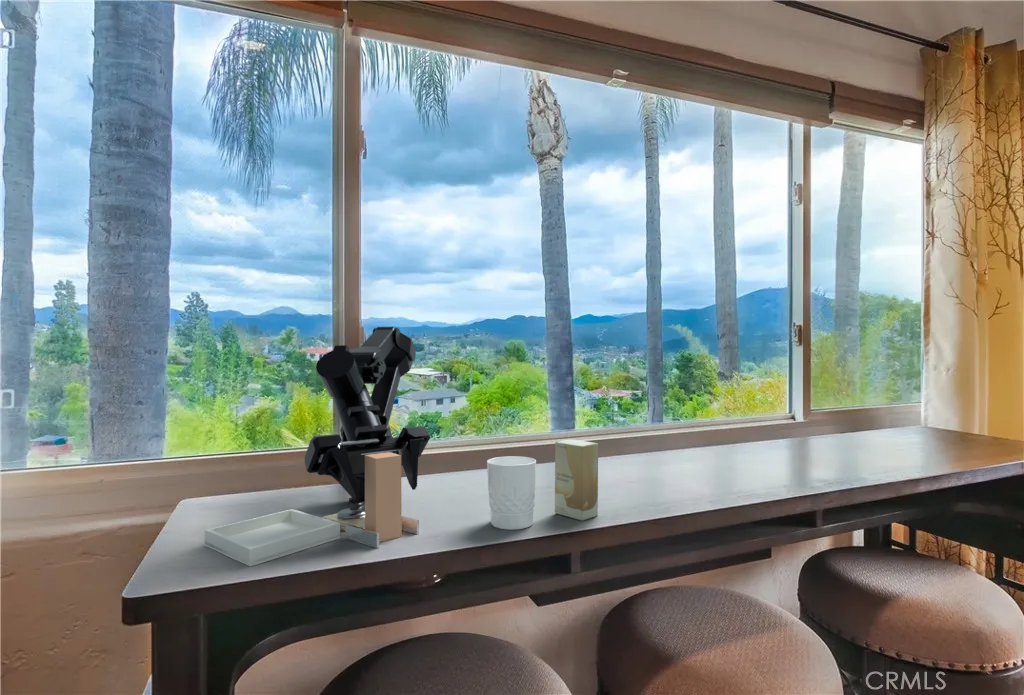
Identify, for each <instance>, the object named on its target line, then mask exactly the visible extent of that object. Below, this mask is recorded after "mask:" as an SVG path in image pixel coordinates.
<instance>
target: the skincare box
mask: <svg viewBox="0 0 1024 695" xmlns="http://www.w3.org/2000/svg"><path fill="white" fill-rule="evenodd" d="M554 444H555V449H554V450H555V451H554V454H555V455H554V456H555V457H554V513H555V514H557V515H562V516H565V517H568V518H571V519H575V520H578V521H582V522H583V521H585V520H586V521H587V520H589V519H592V518H594V517H597V516H598V514H599V511H598V509H599V505H598V504H599V500H598V499H599V498H598V497H599V494H598V493H599V443H598V442H592V441H587V440H579V439H578V440H577V439H571V438H569V439H563V440H559V441H555V442H554Z"/></svg>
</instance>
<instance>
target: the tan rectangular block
mask: <svg viewBox="0 0 1024 695" xmlns="http://www.w3.org/2000/svg"><path fill="white" fill-rule="evenodd" d="M364 508H365V526H364V529H367V530H370V531H374V532H377V533H379V543H381V542H385V541H390V540H392V539H398V538H401V537H402V533H403V532H402V531H403V530H402V516H403V515H402V465H401V455H398V454H395V453H391V452H386V453H378V454H369V455H365V507H364Z"/></svg>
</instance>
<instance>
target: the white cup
mask: <svg viewBox="0 0 1024 695" xmlns="http://www.w3.org/2000/svg"><path fill="white" fill-rule="evenodd" d="M486 469H487V488H488V490H487V491H488V497H489V498H488V500H489V507H490V508H489V510H490V513H489V514H490V525H491V526H493V527H494V528H496V529H500V530H509V531H510V530H512V531H515V530H523V529H526V528H530V527H531V526H533V523H534V515H535V514H534V511H535V510H534V508H535V505H536V504H535V503H536V502H535V500H536V484H537V483H536V479H537V478H536V476H537V475H536V474H537V460H536V459H535V458H533V457H528V456H517V455H516V456H515V455H513V456H511V455H509V456H498V457H493V458H489V459H487V460H486Z"/></svg>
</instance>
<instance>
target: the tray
mask: <svg viewBox="0 0 1024 695" xmlns="http://www.w3.org/2000/svg"><path fill="white" fill-rule="evenodd" d="M339 539H341V530H340V523H338V522H334V521H331V520H327V519H324V518H323V517H320V516H318V515H317V516H316V515H314V514H310V513H307V512H303V511H300V510H297V509H293V508H290V509H286V510H283V511H278V512H274V513H269V514H265V515H261V516H257V517H254V518H253V517H252V518H249V519H245V520H239V521H235V522H233V523H228V524H225V525H220V526H216V527H212V528H211V527H210V528H206V529H205V530H204V547H207V548H209V549H212V550H214V551H216V552H217V553H220V554H221V555H225V556H227V558H228V557H229V558H231V559H233V560H235V561H237V562H240V563H242V564H244V565H246V566H248V567H254V566H256V565H260V564H263V563H265V562H269V561H272V560H275V559H278V558H281V557H285V556H287V555H288V556H289V555H291V554H294V553H298V552H301V551H304V550H307V549H311V548H313V547H316V546H320V545H323V544H326V543H330V542H333V541H335V540H336V541H337V540H339Z"/></svg>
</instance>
